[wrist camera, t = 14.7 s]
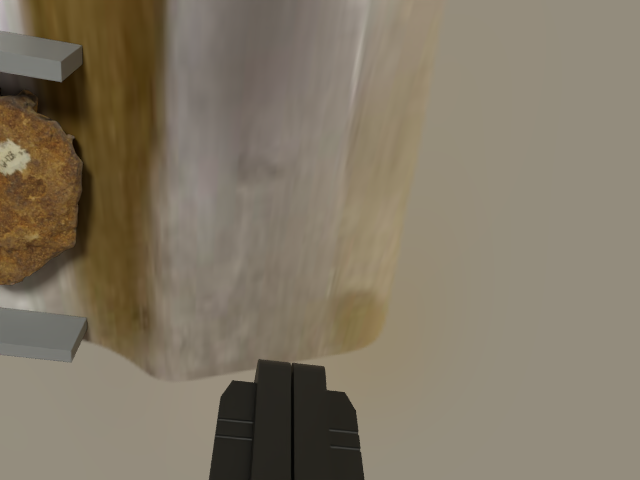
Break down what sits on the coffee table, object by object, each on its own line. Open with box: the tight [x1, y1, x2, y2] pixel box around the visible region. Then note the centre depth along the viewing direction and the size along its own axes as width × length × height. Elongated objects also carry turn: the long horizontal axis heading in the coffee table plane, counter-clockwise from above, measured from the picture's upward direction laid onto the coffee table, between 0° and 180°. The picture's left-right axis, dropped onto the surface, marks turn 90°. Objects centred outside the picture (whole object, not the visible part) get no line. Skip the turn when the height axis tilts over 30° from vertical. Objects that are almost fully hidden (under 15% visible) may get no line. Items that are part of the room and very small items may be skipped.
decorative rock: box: [0, 88, 83, 285], centre depth 41 cm, size 11×4×15 cm
